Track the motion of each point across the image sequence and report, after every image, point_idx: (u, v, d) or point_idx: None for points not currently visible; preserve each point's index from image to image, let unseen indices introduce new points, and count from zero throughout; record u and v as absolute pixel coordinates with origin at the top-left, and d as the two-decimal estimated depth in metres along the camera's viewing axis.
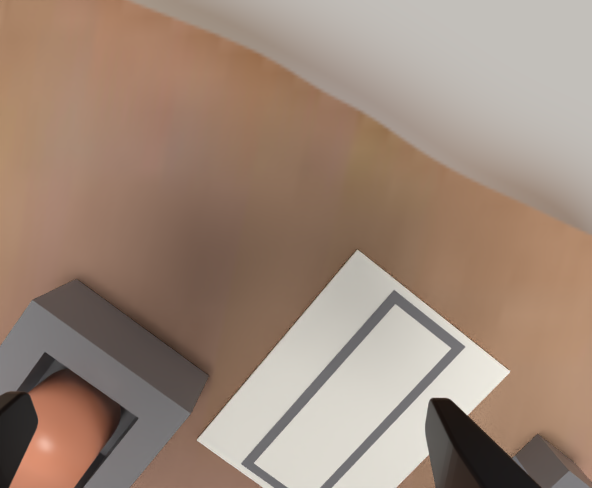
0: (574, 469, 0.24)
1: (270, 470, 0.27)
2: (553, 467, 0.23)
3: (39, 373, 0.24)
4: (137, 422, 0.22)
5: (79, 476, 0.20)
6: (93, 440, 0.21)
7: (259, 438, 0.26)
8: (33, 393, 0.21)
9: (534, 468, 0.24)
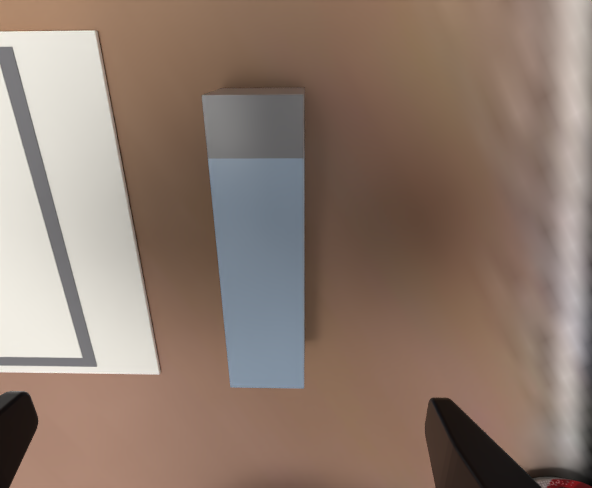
0: (255, 91, 0.14)
1: (21, 352, 0.21)
2: None
3: None
4: None
5: None
6: None
7: None
8: None
9: None
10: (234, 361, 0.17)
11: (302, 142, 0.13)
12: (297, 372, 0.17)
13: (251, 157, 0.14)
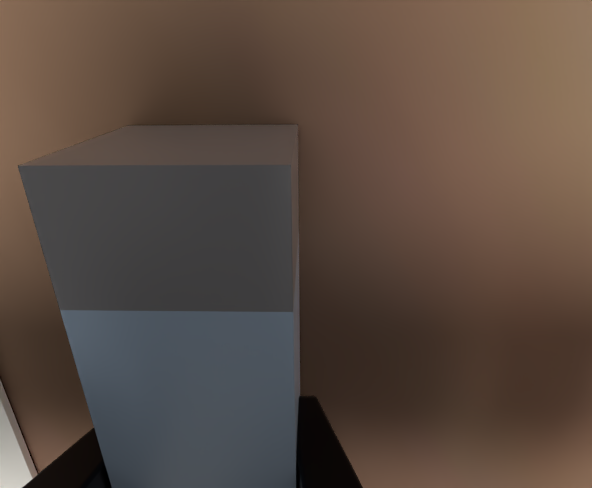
0: (179, 144, 0.06)
1: None
2: None
3: None
4: None
5: None
6: None
7: None
8: None
9: None
10: None
11: (289, 277, 0.05)
12: None
13: (165, 308, 0.06)
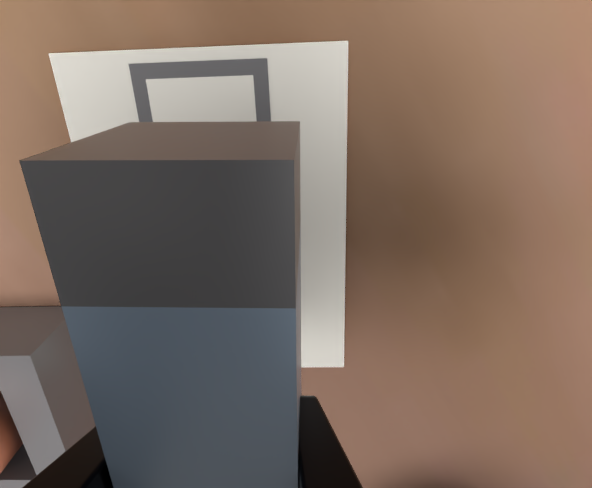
0: (181, 139, 0.06)
1: None
2: None
3: None
4: (3, 395, 0.19)
5: None
6: None
7: None
8: None
9: None
10: None
11: (292, 273, 0.05)
12: None
13: (167, 305, 0.06)
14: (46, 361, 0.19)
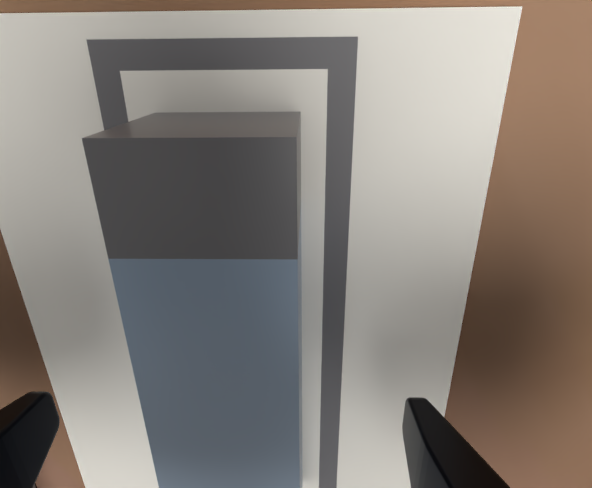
0: (203, 124, 0.07)
1: None
2: None
3: None
4: None
5: None
6: None
7: None
8: None
9: None
10: None
11: (295, 230, 0.07)
12: None
13: (194, 257, 0.07)
14: None
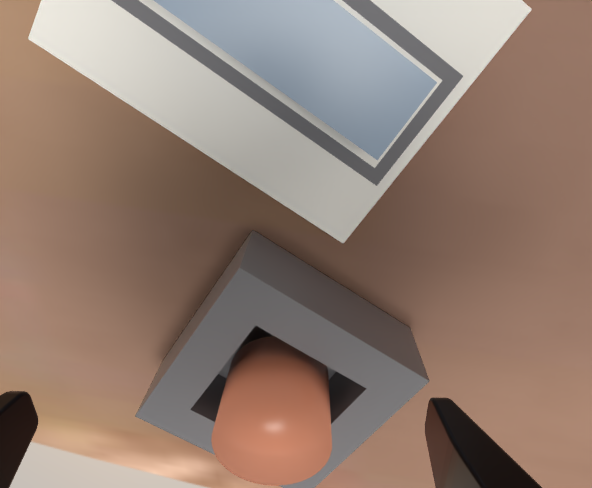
0: None
1: None
2: None
3: None
4: (261, 327, 0.18)
5: (291, 403, 0.16)
6: (262, 381, 0.17)
7: (335, 161, 0.18)
8: None
9: None
10: (350, 131, 0.15)
11: None
12: (411, 73, 0.14)
13: None
14: (261, 270, 0.17)
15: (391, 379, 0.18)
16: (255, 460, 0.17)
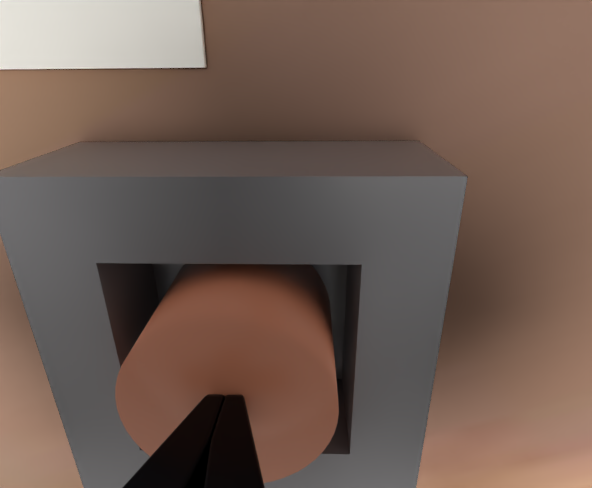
0: None
1: None
2: None
3: None
4: (105, 260, 0.09)
5: (189, 321, 0.08)
6: (154, 316, 0.09)
7: None
8: None
9: None
10: None
11: None
12: None
13: None
14: (47, 168, 0.09)
15: (390, 219, 0.09)
16: None
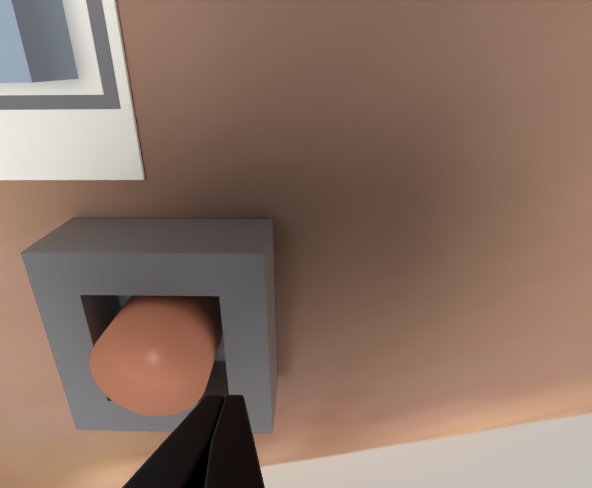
0: None
1: (93, 64, 0.17)
2: None
3: None
4: (84, 293, 0.17)
5: (125, 326, 0.17)
6: (111, 323, 0.18)
7: (72, 113, 0.18)
8: None
9: None
10: None
11: None
12: None
13: None
14: (54, 245, 0.17)
15: (230, 273, 0.17)
16: (152, 393, 0.18)
